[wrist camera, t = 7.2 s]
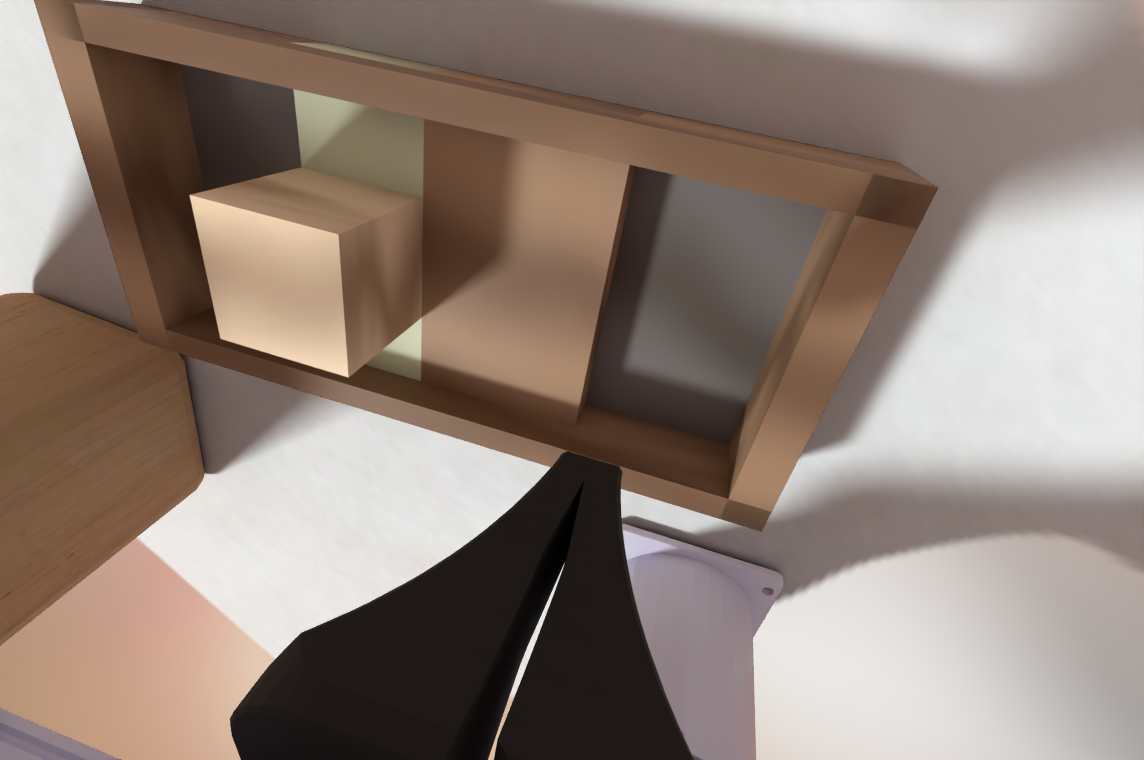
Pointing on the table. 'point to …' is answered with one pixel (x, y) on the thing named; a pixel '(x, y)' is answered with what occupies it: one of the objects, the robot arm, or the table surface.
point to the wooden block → (82, 448)
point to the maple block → (311, 266)
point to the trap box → (508, 245)
